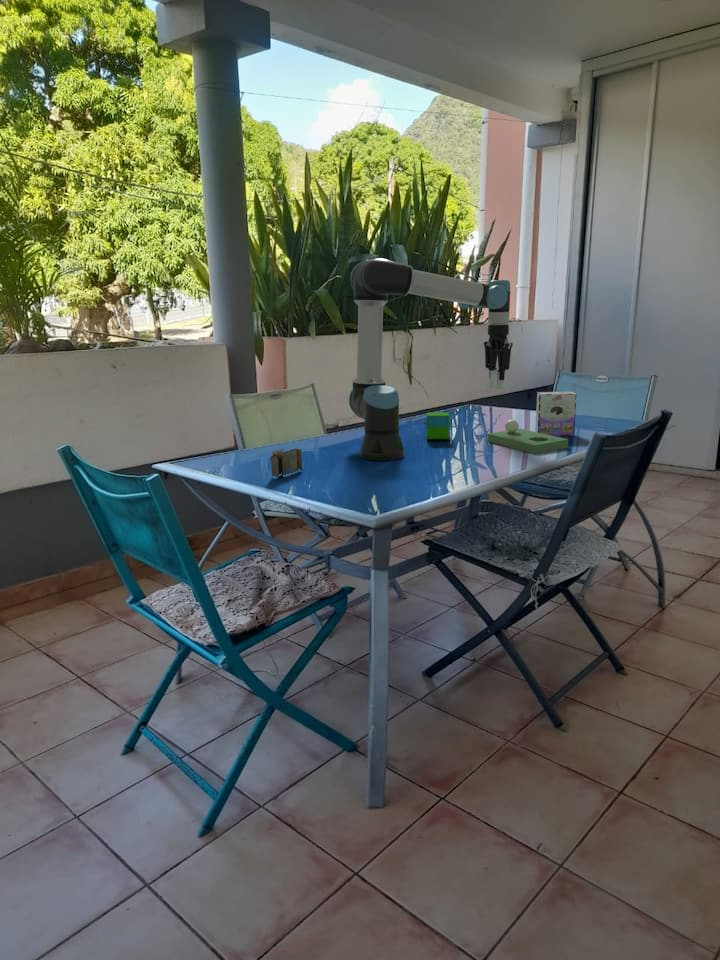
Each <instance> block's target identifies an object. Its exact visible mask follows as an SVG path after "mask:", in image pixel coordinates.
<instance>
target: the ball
mask: <svg viewBox="0 0 720 960" xmlns="http://www.w3.org/2000/svg"><path fill="white" fill-rule="evenodd" d="M519 427H520V425H519V422H518V421H517V420H515V419H512V418H511V419H508V420H506V422H505V424H504V429H505V431H507V432H509V433H514V432H516V431H517V430H518V429H520V428H519Z"/></svg>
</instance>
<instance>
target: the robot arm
mask: <svg viewBox="0 0 720 960" xmlns="http://www.w3.org/2000/svg"><path fill="white" fill-rule="evenodd" d="M350 285H351V288H352V290H353V302H354V303H355V304H356V305H357V353H356V354H357V355H356V357H357V358H356V361H357V364H356V376H355V378H354V379H353V380H352V390H351V391H350V394H349V396H348V404H349V407H350V409H351V411H352V412H353V413H354V414H355V415H356V416H357V417H358V418H360V419H363V420H364V436H363V439H362V442H361V446H360V450H359V457H360V458H361V459H362V458H363V460H365V459H367V461H371V460H375V461H374V462H387V461H386V460H391V461H396V460H395V459H397V460H400V458H401V459H403V458H404V457H405V449H404V445H403V442H402V438H401V437H400V397H399V391H398V390H397V389H396V388H394V386H393V387H392V386H388V385H386V380H385V379H384V378H383V376H382V370H383V369H382V367H383V364H382V363H383V361H382V360H383V331H384V329H383V327H384V323H383V322H384V320H383V319H384V306H385V305H387V303H388V301H389V295H396V296H403V297H406V296H408V294H410V295H415V296H420V297H427V298H431V299H437V300H442V301H447V302H452V303H457V305H458V307H460V308H461V309H488V318H487V323H488V324H489V325H488V326H487V335H488V336H489V338H488V340H487V341H484V342H483V346H484V357H485V359H484V360H485V362H484V365H485V369H488V370H489V372H488V373H489V389H496V390H503V389H504V380H505V377H506V376H505V372H506V371H508V370H510V366H511V365H510V363H511V352H512V348H513V346H514V344H513V343H512V342H509V341H508V335H509V334H510V333H509V332H510V331H509V330H510V325H509V323H510V309H511V308H510V305H511V303H510V302H511V292H512V291H511V282H510V281H509V280H508V279H494V280H490V281H489V282H488V284H487V283H481V282H477V281H472V280H468V279H462V278H457V277H453V276H452V277H451V276H447V275H443V274H442V275H441V274H438V273H433V272H432V273H431V272H426V271H423V270H416V269H414V268H413V267H412V266H411V265H409V264H405V263H401V262H397V261H393V260H390V259H387V258H383V257H382V258H381V257H377V258H371V259H370V258H369V259H365V260H362V261H361V262H359V263H357V264H356V265H355V266H354V267H353V269H352V271H351V274H350ZM497 366H498V368H497ZM402 457H403V458H402Z"/></svg>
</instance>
